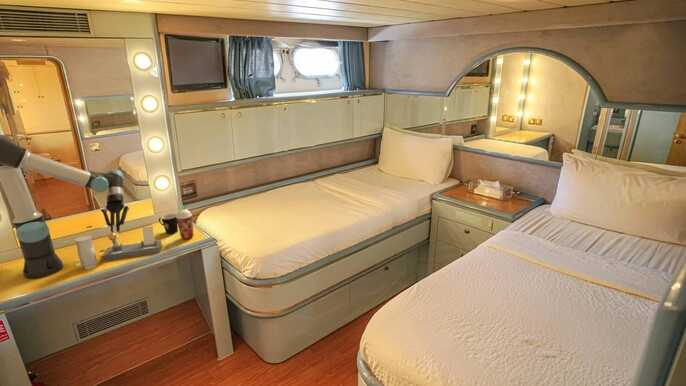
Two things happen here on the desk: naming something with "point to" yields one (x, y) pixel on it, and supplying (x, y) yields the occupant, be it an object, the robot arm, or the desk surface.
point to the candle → (86, 252)
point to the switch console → (132, 250)
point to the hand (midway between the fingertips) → (115, 237)
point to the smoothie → (185, 224)
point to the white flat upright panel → (148, 235)
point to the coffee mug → (170, 223)
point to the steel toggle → (114, 240)
